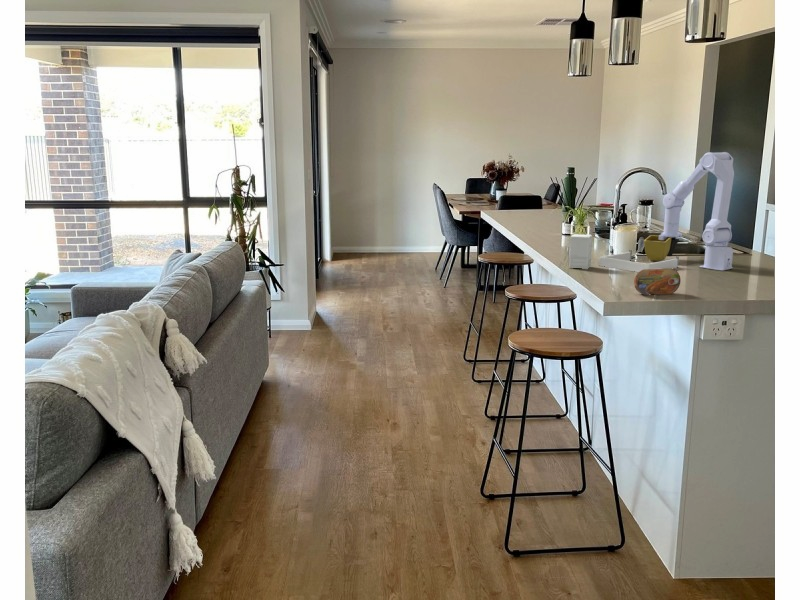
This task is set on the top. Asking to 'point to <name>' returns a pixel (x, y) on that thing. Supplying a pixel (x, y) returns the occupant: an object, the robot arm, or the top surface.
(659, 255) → the flower pot
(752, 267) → the top surface
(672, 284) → the tin
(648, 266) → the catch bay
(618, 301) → the top surface
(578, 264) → the supplement box
